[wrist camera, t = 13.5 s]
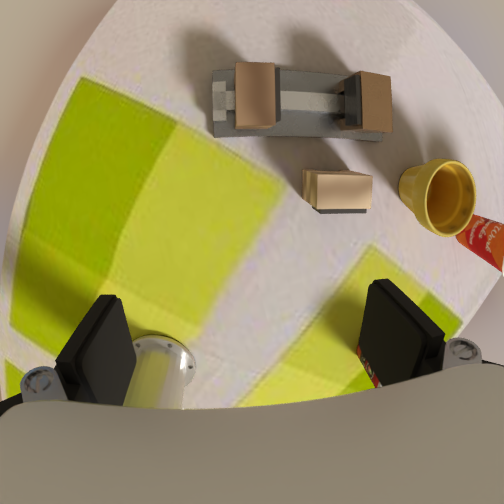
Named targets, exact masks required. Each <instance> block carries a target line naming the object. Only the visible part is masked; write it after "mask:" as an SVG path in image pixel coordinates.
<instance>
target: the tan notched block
mask: <svg viewBox="0 0 504 504" xmlns="http://www.w3.org/2000/svg"><path fill="white" fill-rule="evenodd" d="M372 179H373V176H370V175H366V174H362V173H358V172H354V171H349V170H340V171H317V170H302V199H304V200H305V201H306V202H308V203H309V204H311V205H312V208H313V209H315V210H316V211H317V212H319V213H320V214H338V213H366V209H371V198H372Z"/></svg>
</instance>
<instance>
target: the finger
mask: <svg viewBox="0 0 504 504" xmlns="http://www.w3.org/2000/svg"><path fill="white" fill-rule="evenodd" d="M234 89H235V129H268V128H270V127H272V126H274V125H276V123H277V122H279V121H281V95H280V68H274V63H261V62H236V65H235V73H234Z"/></svg>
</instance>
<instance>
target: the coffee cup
mask: <svg viewBox="0 0 504 504" xmlns="http://www.w3.org/2000/svg"><path fill="white" fill-rule="evenodd" d="M456 238H457V240H458V242H459V243H461V244H462V245H463V246H465V247H466V248H468V249H469V250H471V251H472V252H474V253H475V254H476V255H478V256H479V257H481V258H482V259H484V260H485V261H487V262H488V263H489V264H491V265H492V266H494V267H495V268H497V269H498V270H499V271H501V272H502V273H503V276H504V224H502V223H499V222H496V221H493V220H490V219H487V218H484V217H481V216H477V215H474V214H473V215H472V217H471V219H470V221H469V223H468V225H467V226H466V227H465V228H464V229H463V230H462V231H461V232H460V233H458V234H457V235H456Z"/></svg>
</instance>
